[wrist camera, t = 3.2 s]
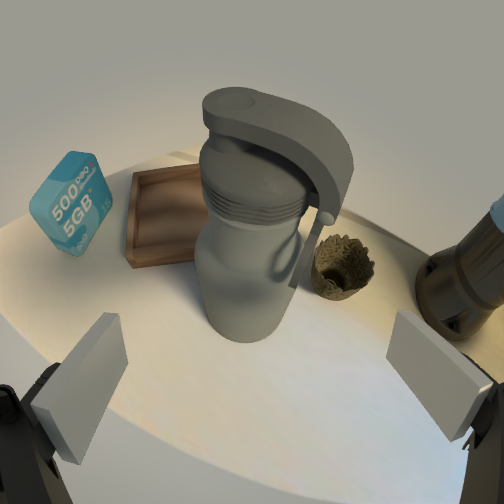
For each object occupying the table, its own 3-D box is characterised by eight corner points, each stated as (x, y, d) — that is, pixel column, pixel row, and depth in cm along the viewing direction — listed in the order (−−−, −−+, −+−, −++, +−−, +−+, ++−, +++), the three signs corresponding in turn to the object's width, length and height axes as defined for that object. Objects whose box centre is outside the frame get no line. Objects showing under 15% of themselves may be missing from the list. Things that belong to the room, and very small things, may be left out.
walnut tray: (243, 254, 42) (244, 241, 39) (132, 268, 39) (125, 256, 36) (228, 175, 50) (228, 160, 47) (137, 187, 47) (133, 172, 44)
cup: (295, 269, 41) (307, 237, 34) (341, 261, 42) (361, 229, 35) (309, 319, 37) (327, 295, 30) (358, 307, 38) (383, 282, 31)
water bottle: (296, 294, 39) (376, 106, 15) (266, 359, 34) (344, 214, 10) (228, 263, 41) (228, 62, 17) (193, 323, 36) (126, 135, 12)
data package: (79, 260, 39) (43, 212, 29) (60, 252, 40) (24, 206, 30) (115, 202, 45) (93, 148, 35) (96, 197, 46) (72, 146, 36)
